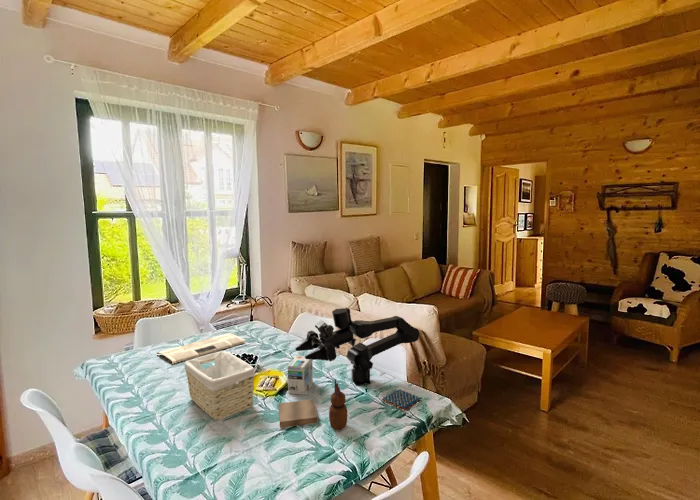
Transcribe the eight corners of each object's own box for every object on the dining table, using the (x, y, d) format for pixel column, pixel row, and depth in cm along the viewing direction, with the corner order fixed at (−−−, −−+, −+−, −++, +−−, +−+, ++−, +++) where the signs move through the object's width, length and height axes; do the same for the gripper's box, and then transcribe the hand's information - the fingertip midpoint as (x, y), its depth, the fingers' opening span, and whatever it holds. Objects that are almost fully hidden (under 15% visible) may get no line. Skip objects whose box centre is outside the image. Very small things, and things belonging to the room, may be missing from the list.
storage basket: (258, 407, 136) (256, 366, 134) (213, 425, 125) (211, 381, 123) (226, 385, 153) (224, 349, 152) (184, 399, 142) (182, 360, 141)
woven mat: (399, 392, 146) (399, 387, 146) (422, 402, 139) (422, 397, 139) (380, 402, 139) (380, 397, 139) (404, 413, 132) (404, 407, 131)
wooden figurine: (329, 422, 126) (328, 377, 124) (346, 420, 126) (346, 376, 125) (329, 434, 119) (328, 387, 118) (348, 432, 120) (347, 386, 118)
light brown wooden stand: (313, 404, 137) (313, 399, 137) (317, 422, 126) (317, 417, 125) (278, 408, 135) (278, 403, 134) (279, 427, 123) (279, 421, 123)
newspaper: (172, 366, 174) (172, 360, 174) (155, 355, 187) (155, 349, 187) (245, 344, 201) (244, 339, 201) (225, 336, 214) (225, 331, 214)
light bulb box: (304, 395, 144) (304, 367, 143) (287, 393, 146) (286, 366, 144) (313, 382, 155) (312, 356, 153) (297, 381, 156) (296, 355, 155)
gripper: (323, 312, 155) (286, 326, 148) (345, 324, 139) (305, 340, 132) (328, 338, 157) (293, 353, 150) (351, 353, 141) (312, 370, 134)
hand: (300, 353), depth 141 cm, fingers open, 9 cm apart
